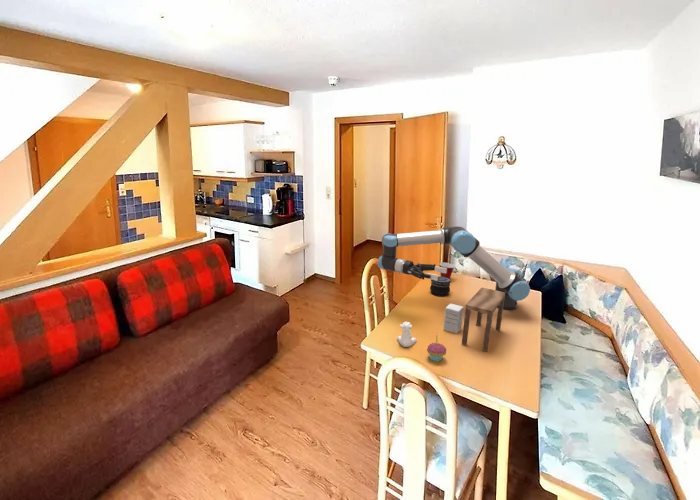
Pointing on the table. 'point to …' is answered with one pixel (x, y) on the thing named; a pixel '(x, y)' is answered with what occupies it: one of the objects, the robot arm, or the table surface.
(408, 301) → the table surface
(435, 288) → the container
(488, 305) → the walnut stool
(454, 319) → the supplement box
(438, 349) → the cupcake
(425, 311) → the table surface
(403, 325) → the seated beast figurine
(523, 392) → the table surface
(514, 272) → the robot arm
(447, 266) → the plastic cup
